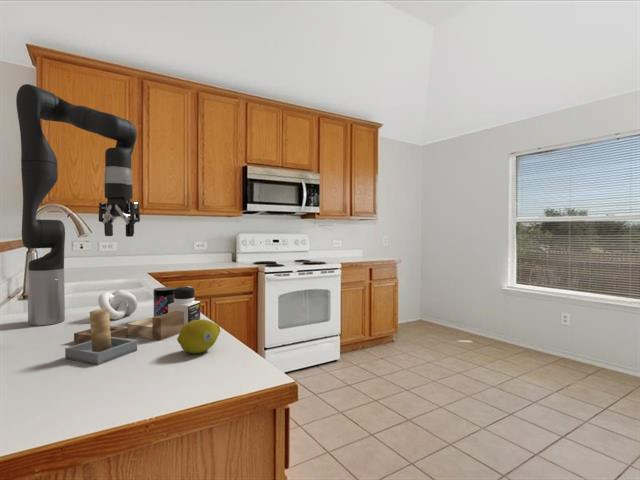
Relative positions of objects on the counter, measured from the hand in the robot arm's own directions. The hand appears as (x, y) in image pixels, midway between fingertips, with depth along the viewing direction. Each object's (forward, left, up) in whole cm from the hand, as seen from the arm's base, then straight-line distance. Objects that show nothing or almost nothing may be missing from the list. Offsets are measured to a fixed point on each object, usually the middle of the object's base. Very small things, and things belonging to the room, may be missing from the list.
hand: (119, 236), depth 111 cm
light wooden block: (+13, -1, -28) cm, 31 cm away
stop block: (+20, -1, -28) cm, 35 cm away
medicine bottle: (+16, +10, -28) cm, 34 cm away
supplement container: (+5, +13, -28) cm, 32 cm away
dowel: (+17, -20, -27) cm, 38 cm away
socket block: (+6, -11, -28) cm, 31 cm away
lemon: (+37, -9, -28) cm, 48 cm away
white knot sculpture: (-12, +10, -28) cm, 32 cm away
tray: (+17, -20, -28) cm, 38 cm away
